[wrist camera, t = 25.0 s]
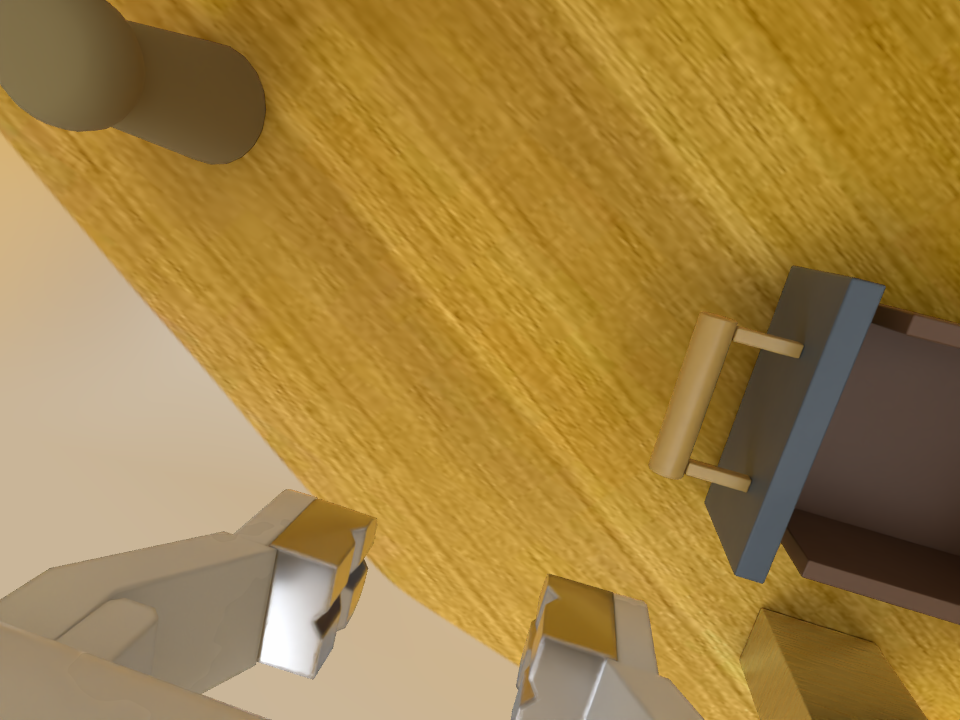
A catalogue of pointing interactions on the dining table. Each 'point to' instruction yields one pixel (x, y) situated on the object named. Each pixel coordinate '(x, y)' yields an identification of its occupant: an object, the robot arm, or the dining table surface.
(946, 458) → the drawer
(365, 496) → the dining table surface
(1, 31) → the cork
